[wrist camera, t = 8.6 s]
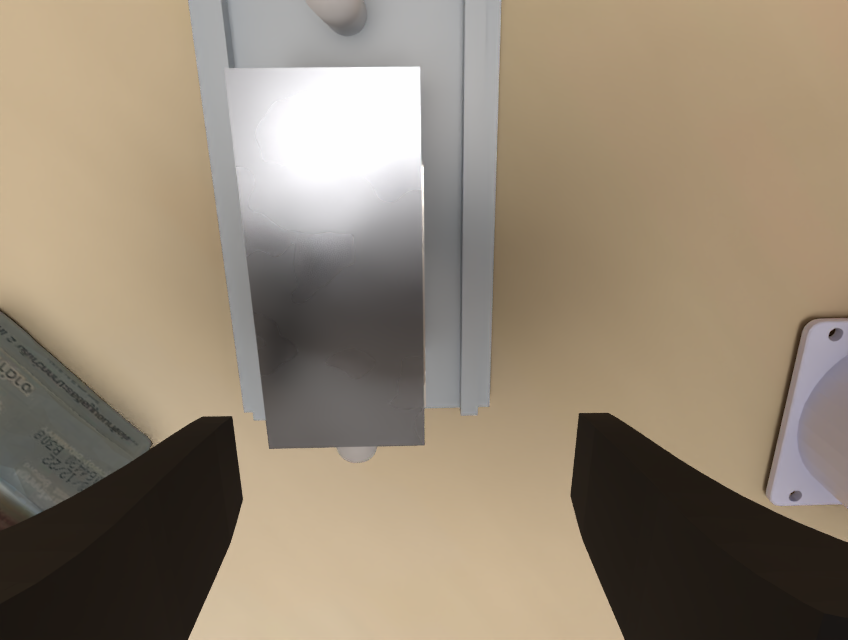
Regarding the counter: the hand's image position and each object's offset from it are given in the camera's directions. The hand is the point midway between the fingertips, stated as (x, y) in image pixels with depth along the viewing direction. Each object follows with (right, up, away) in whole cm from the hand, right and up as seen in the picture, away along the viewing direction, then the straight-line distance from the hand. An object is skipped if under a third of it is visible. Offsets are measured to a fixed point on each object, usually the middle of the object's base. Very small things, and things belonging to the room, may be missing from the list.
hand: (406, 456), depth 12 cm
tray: (-2, +6, +8) cm, 10 cm away
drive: (-2, +6, +7) cm, 9 cm away
